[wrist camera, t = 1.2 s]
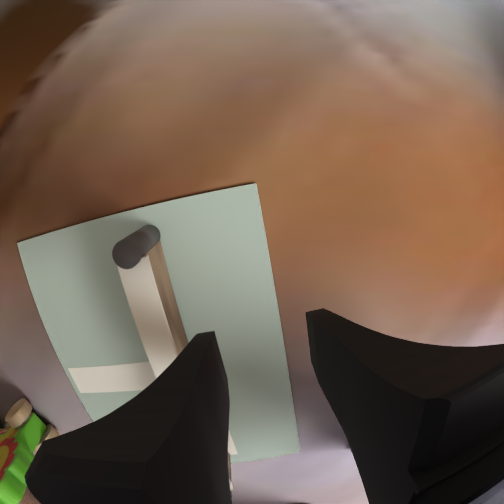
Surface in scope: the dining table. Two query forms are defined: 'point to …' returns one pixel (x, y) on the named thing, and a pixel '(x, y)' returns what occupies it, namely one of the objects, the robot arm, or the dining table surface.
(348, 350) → the robot arm
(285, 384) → the card
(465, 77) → the dining table surface
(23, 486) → the toy lion
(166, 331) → the hinged fence section
